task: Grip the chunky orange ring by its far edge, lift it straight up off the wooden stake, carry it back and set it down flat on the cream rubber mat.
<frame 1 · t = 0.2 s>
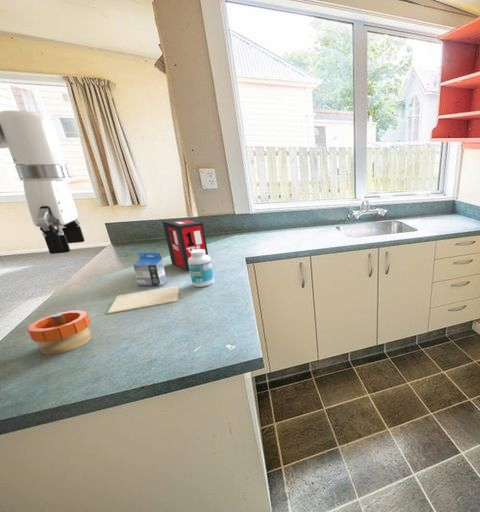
hand: (68, 247, 71), 26 cm above the worktop, tool pointing down, fingers open, 9 cm apart
stake stand: (67, 343, 77), on the worktop
cleaning product box: (191, 265, 135), on the worktop
pill bottle: (203, 284, 115), on the worktop
ring: (62, 330, 76), point 4 cm above the worktop, touching stake stand
label tape box: (153, 284, 114), on the worktop
mat: (147, 299, 102), on the worktop
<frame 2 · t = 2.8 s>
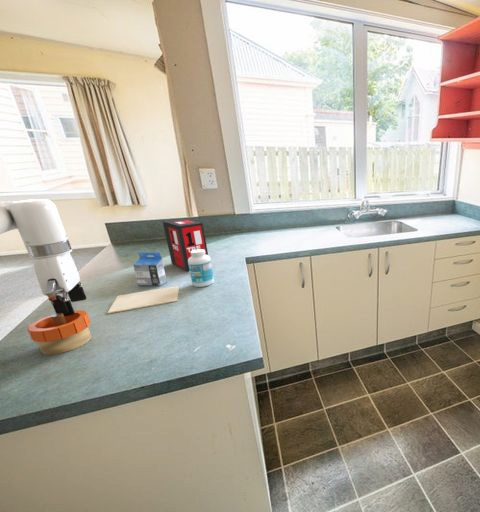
hand: (73, 307, 81), 7 cm above the worktop, tool pointing down, fingers open, 9 cm apart
nothing on the worktop moved.
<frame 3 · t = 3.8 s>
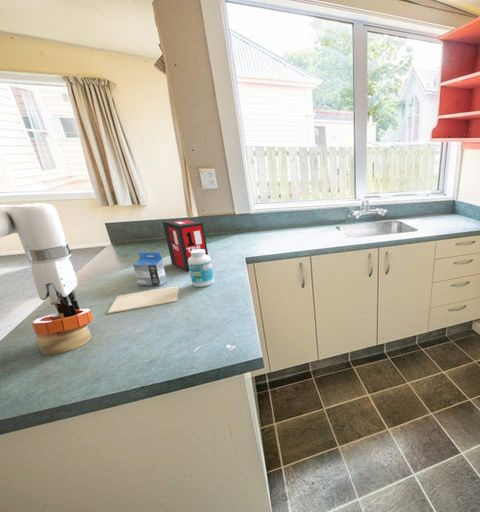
hand: (71, 316, 81), 5 cm above the worktop, tool pointing down, fingers closed on ring
ring: (65, 326, 78), point 4 cm above the worktop, tilted 10°, touching gripper, stake stand
everything else where it was.
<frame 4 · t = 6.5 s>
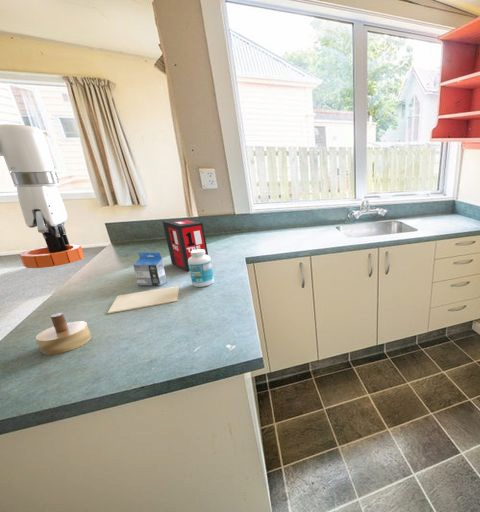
hand: (60, 250, 78), 23 cm above the worktop, tool pointing down, fingers closed on ring
ring: (55, 261, 75), point 21 cm above the worktop, touching gripper
everything else where it was.
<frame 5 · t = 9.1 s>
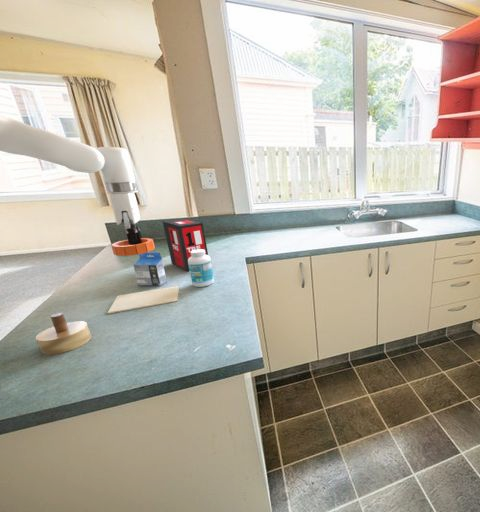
hand: (136, 243, 100), 19 cm above the worktop, tool pointing down, fingers closed on ring
ring: (135, 250, 97), point 17 cm above the worktop, touching gripper
everything else where it was.
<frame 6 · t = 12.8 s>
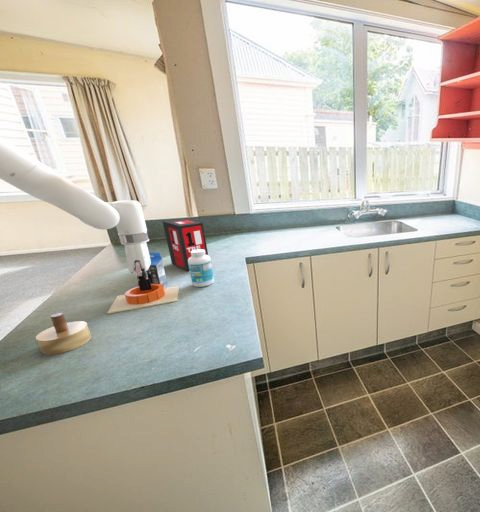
hand: (147, 286, 105), 3 cm above the worktop, tool pointing down, fingers open, 4 cm apart
ring: (146, 297, 102), resting on mat
everything else where it was.
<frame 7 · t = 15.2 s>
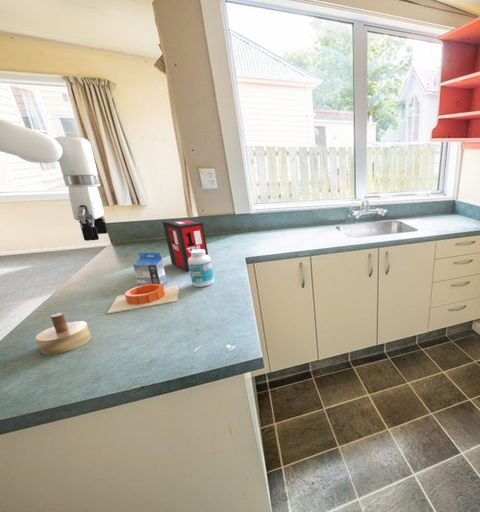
hand: (96, 236, 93), 23 cm above the worktop, tool pointing down, fingers open, 9 cm apart
nothing on the worktop moved.
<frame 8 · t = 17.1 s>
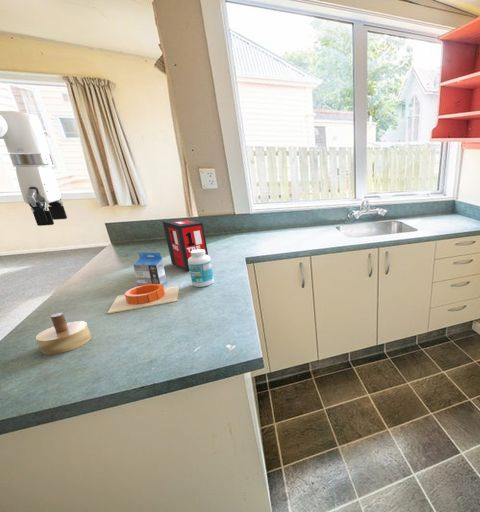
hand: (53, 222, 87), 28 cm above the worktop, tool pointing down, fingers open, 9 cm apart
nothing on the worktop moved.
at the end: ring inside the target area on the mat (0.3 cm from its centre), point 0.5 cm above the mat's base; ring tilted 0°; ring touching mat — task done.
